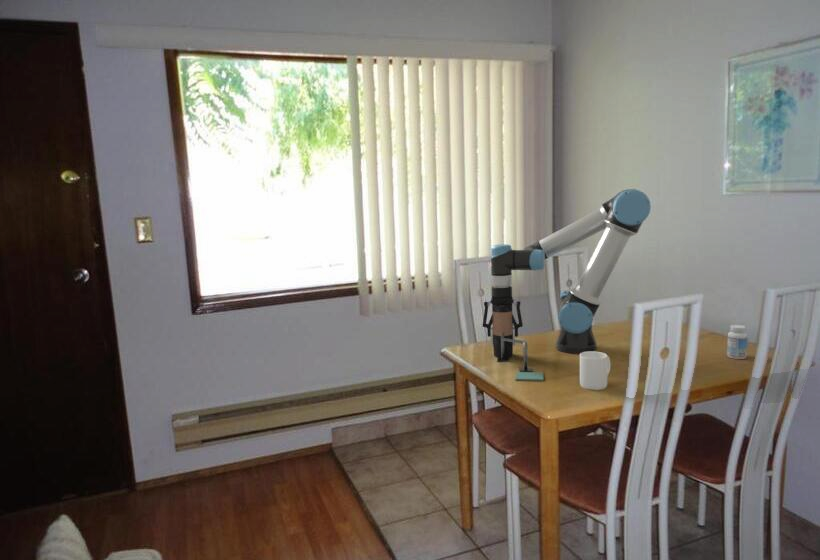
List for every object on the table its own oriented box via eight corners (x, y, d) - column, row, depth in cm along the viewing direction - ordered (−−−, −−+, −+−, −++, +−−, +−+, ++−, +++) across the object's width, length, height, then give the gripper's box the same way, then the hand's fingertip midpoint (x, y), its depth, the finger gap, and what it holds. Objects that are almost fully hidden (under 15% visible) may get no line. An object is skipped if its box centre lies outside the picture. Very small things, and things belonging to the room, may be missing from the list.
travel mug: (513, 358, 208) (512, 306, 205) (492, 358, 210) (491, 306, 207) (513, 352, 215) (512, 302, 212) (493, 352, 217) (492, 302, 214)
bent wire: (530, 358, 207) (529, 331, 205) (531, 372, 191) (531, 343, 190) (497, 358, 209) (497, 331, 207) (496, 372, 194) (495, 343, 192)
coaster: (542, 374, 189) (542, 372, 189) (543, 380, 182) (543, 379, 182) (515, 373, 191) (515, 372, 191) (515, 380, 184) (515, 378, 184)
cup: (574, 385, 177) (574, 354, 176) (599, 377, 184) (599, 347, 182) (595, 392, 170) (595, 360, 169) (620, 383, 177) (620, 353, 175)
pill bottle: (745, 355, 199) (747, 324, 197) (747, 360, 194) (749, 328, 192) (726, 354, 202) (727, 323, 200) (727, 358, 196) (729, 327, 194)
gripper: (529, 283, 210) (530, 342, 214) (474, 284, 214) (476, 342, 217) (529, 287, 203) (530, 347, 206) (473, 287, 207) (475, 347, 210)
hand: (502, 344), depth 212 cm, fingers closed on travel mug, 8 cm apart
